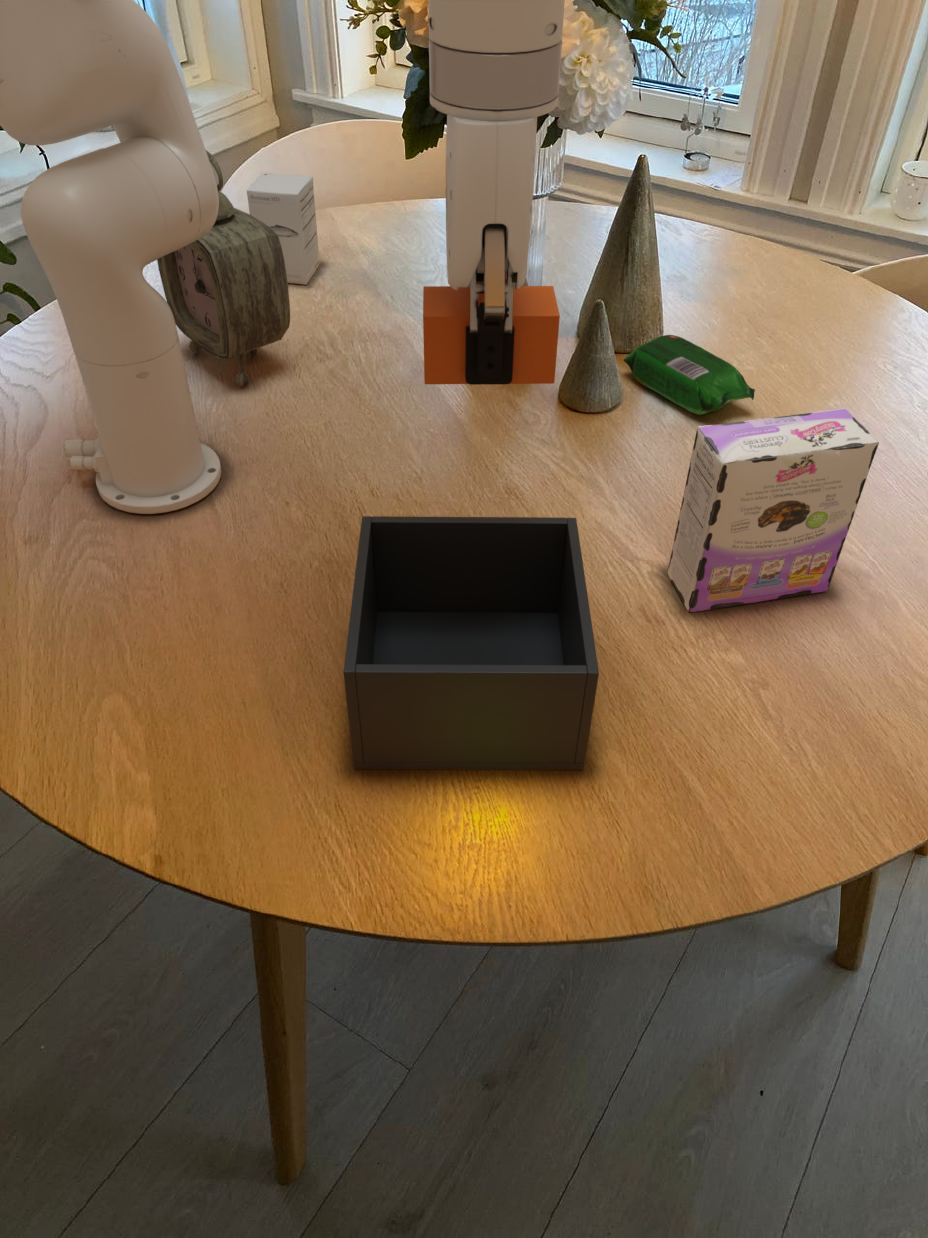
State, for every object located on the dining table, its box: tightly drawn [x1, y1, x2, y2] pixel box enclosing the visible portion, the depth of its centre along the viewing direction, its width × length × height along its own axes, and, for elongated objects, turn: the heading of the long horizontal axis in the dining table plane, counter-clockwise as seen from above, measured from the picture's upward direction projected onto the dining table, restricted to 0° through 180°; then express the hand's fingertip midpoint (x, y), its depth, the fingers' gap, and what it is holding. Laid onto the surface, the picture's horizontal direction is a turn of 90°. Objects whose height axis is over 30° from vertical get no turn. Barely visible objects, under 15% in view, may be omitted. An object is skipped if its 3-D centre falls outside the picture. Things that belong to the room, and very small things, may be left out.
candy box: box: [666, 407, 880, 613], centre depth 84 cm, size 14×6×16 cm, turn 102°
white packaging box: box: [246, 172, 320, 286], centre depth 133 cm, size 7×7×13 cm
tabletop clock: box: [156, 150, 291, 388], centre depth 110 cm, size 14×9×25 cm, turn 42°
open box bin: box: [342, 515, 600, 771], centre depth 76 cm, size 18×18×11 cm
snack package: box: [622, 334, 756, 416], centre depth 112 cm, size 7×16×5 cm, turn 35°
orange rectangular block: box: [422, 285, 561, 385], centre depth 66 cm, size 9×5×5 cm, turn 91°
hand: (487, 360), depth 68 cm, fingers closed on orange rectangular block, 4 cm apart
